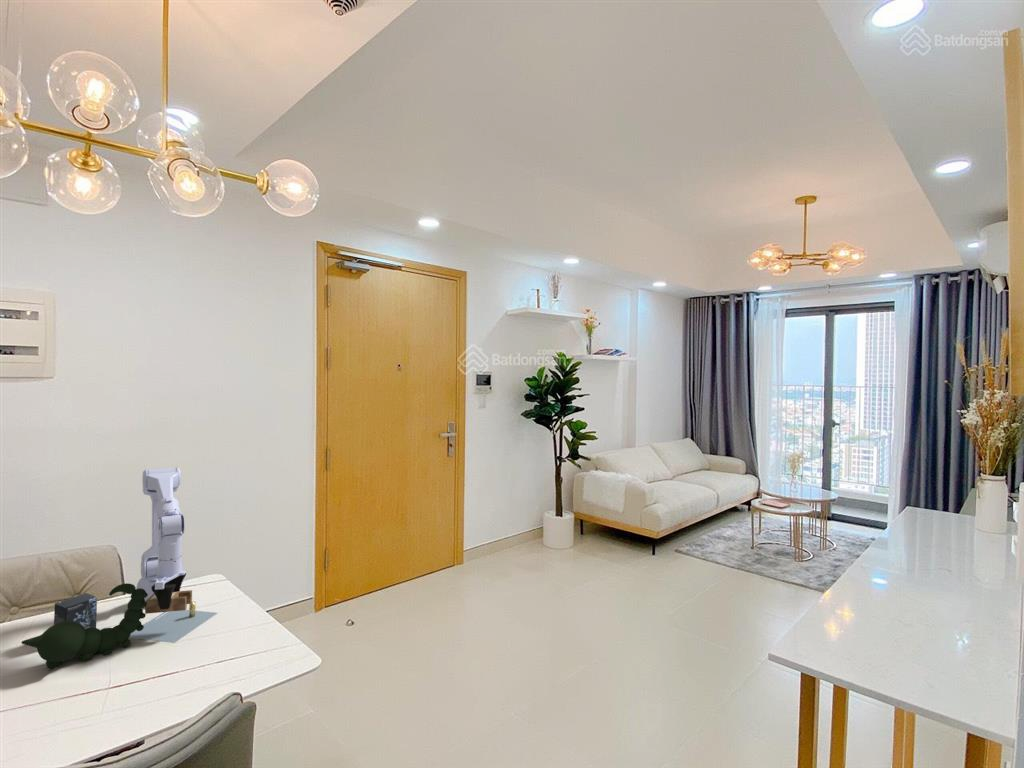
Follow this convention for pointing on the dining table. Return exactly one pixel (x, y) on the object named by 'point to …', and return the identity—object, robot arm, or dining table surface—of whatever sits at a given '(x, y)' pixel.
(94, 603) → the box
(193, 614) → the peg
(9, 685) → the dining table surface
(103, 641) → the toy figurine
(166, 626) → the board
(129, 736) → the dining table surface
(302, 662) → the dining table surface
